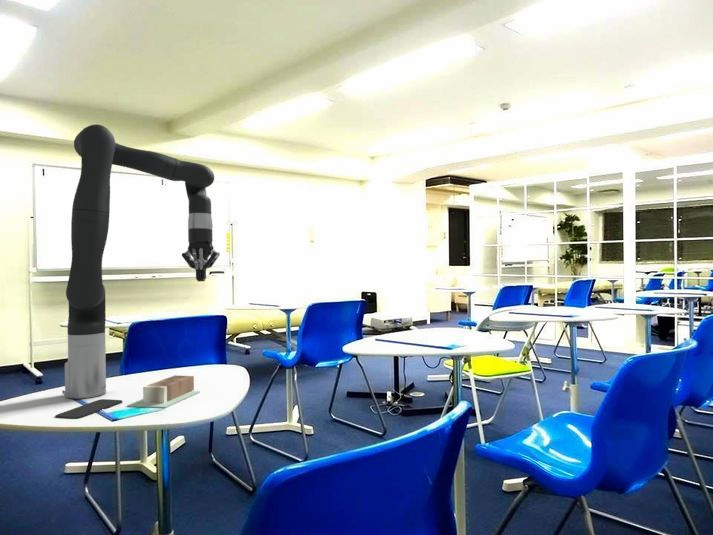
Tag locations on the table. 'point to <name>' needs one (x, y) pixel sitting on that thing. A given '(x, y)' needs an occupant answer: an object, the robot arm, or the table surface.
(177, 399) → the green mat
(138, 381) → the table surface
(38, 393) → the table surface
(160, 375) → the table surface
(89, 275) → the robot arm
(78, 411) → the phone
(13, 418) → the table surface
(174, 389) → the walnut block
